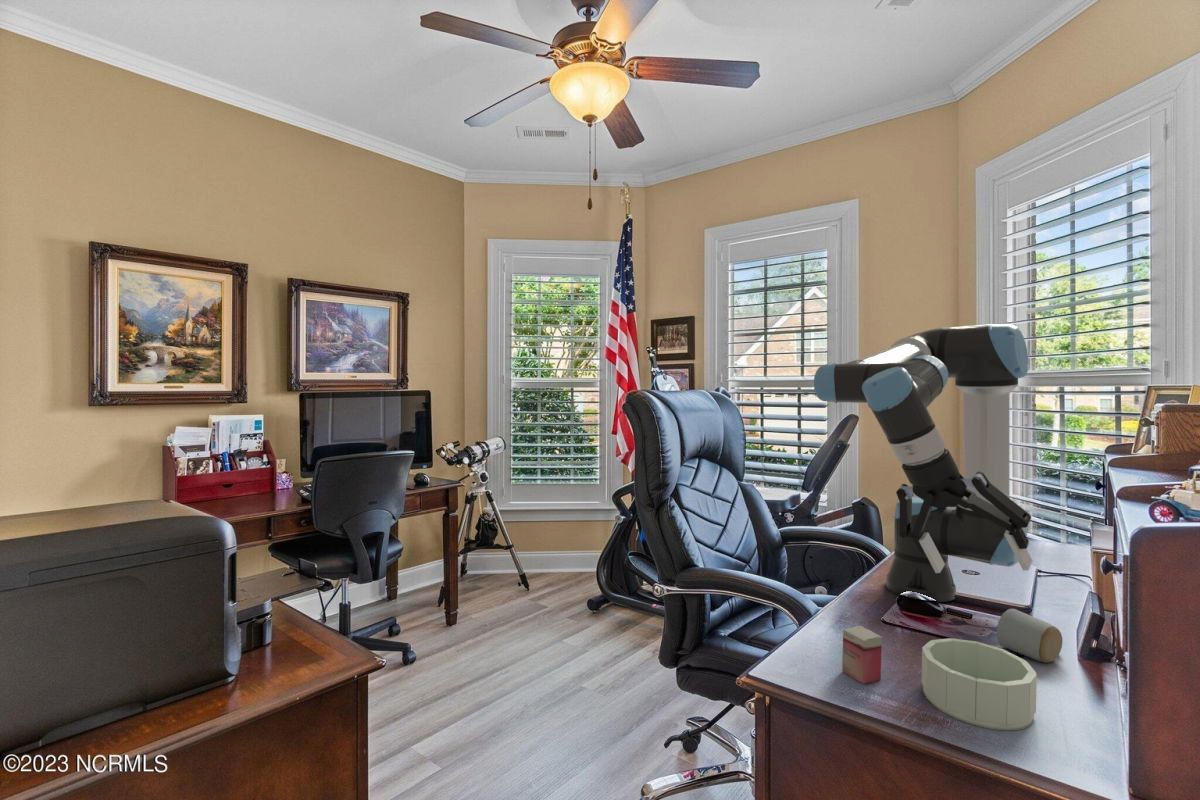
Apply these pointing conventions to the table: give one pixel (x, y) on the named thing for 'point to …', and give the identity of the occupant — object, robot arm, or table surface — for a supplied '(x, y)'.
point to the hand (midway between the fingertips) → (981, 567)
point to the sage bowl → (979, 684)
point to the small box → (862, 654)
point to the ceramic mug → (1029, 636)
